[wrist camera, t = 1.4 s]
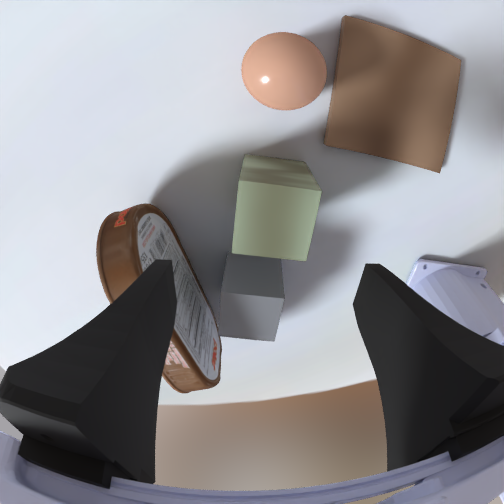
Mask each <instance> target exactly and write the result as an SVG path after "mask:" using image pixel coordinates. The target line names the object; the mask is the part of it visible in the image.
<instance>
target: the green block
mask: <svg viewBox="0 0 504 504" xmlns="http://www.w3.org/2000/svg"><path fill="white" fill-rule="evenodd" d="M321 193H322V191H321V189H320V187H319V185H318V184H317V182H316V180H315V178H314V177H313V175H312V173H311V171H310V170H309V168H308V166H307V165H306V163H305V162H301V161H294V160H287V159H280V158H273V157H265V156H257V155H248V154H245V156H244V160H243V164H242V169H241V173H240V177H239V183H238V193H237V202H236V212H235V222H234V233H233V243H232V253H234V254H243V255H252V256H261V257H270V258H279V259H288V260H297V261H306V260H307V255H308V251H309V247H310V243H311V238H312V234H313V230H314V225H315V221H316V216H317V212H318V207H319V203H320V198H321Z"/></svg>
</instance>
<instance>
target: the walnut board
mask: <svg viewBox="0 0 504 504" xmlns="http://www.w3.org/2000/svg"><path fill="white" fill-rule="evenodd" d="M460 67H461V60H460V59H458V58H456V57H454V56H452V55H450V54H448V53H446V52H444V51H442V50H440V49H438V48H435V47H433V46H431V45H429V44H427V43H424V42H422V41H420V40H417V39H415V38H412V37H410V36H407V35H405V34H402V33H400V32H397V31H394V30H391V29H389V28H386V27H383V26H380V25H377V24H374V23H370V22H367V21H364V20H360V19H357V18H353V17H350V16H346V15H345V16H344V17H343V18H342V23H341V31H340V39H339V47H338V54H337V62H336V69H335V76H334V83H333V89H332V96H331V102H330V108H329V114H328V120H327V126H326V132H325V138H324V144H325V145H326V146H331V147H337V148H342V149H347V150H351V151H356V152H361V153H365V154H370V155H374V156H378V157H382V158H387V159H391V160H395V161H398V162H402V163H406V164H410V165H413V166H417V167H420V168H424V169H427V170H431V171H434V172H437V173H440V171H441V167H442V163H443V160H444V156H445V152H446V147H447V143H448V139H449V134H450V129H451V125H452V119H453V114H454V109H455V103H456V97H457V90H458V83H459V76H460Z"/></svg>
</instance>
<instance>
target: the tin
mask: <svg viewBox="0 0 504 504" xmlns="http://www.w3.org/2000/svg"><path fill="white" fill-rule="evenodd" d="M96 256H97V265H98V271H99V275H100V279H101V283H102V286H103V289H104V291H105V294H106V296H107V298H108V300H109V302H110V304H111V303H112V302H113V301H115V300H116V299H117V298H118V297H119V296H120V295H121V294H122V293H123V292H124V291H125V290H126V289H127V288H128V287H129V286H130V285H131V284H132V283H133V282H134V281H135V280H136V279H137V278H138V277H139V276H140V275H141V274H142V273H143V272H144V271H145V270H146V269H147V268H148V267H149V265H150V264H152V263H153V262H154V261H155V260H156V259H163V260H172V265H173V273H174V281H175V289H176V296H177V310H176V317H175V324H174V329H173V333H172V337H171V341H170V345H169V349H168V353H167V357H166V361H165V365H164V369H163V373H162V377H163V378H164V379H165V380H166V382H167V383H168V384H169V385H170V386H171V387H172V388H173V389H174V390H176V391H178V392H180V393H189V392H191V391H197V390H203V389H209V388H212V387H214V386H216V385H217V384H218V383H219V381H220V371H221V352H222V345H221V339H220V336H218V326H217V323H216V320H215V317H214V314H213V311H212V309H211V307H210V305H209V303H208V301H207V298H206V296H205V294H204V292H203V290H202V288H201V286H200V284H199V282H198V279H197V277H196V275H195V273H194V271H193V269H192V267H191V265H190V262H189V260H188V258H187V256H186V254H185V252H184V249H183V247H182V245H181V243H180V241H179V239H178V237H177V234H176V232H175V230H174V229H173V227H172V225H171V223H170V222H169V220H168V219H167V217H166V216H165V215H164V214H163V213H162V212H161V211H160V210H159V209H158V208H157V207H155V206H153V205H151V204H140V205H136V206H133V207H130V208H128V209H126V210H123V211H121V212H114V213H111V214H110V215H108V216H107V217H106V218H105V220H104V221H103V223H102V225H101V227H100V230H99V233H98V239H97V248H96Z"/></svg>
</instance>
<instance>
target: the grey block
mask: <svg viewBox="0 0 504 504" xmlns="http://www.w3.org/2000/svg"><path fill="white" fill-rule="evenodd" d="M284 299H285V298H284V287H283V277H282V267H281V259H279V258H270V257H261V256H252V255H243V254H234V253H232V252H229V251H228V254H227V260H226V265H225V271H224V276H223V282H222V287H221V294H220V310H219V326H218V336H223V337H232V338H242V339H252V340H263V341H275V337H276V333H277V329H278V324H279V320H280V316H281V312H282V308H283V303H284Z"/></svg>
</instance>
